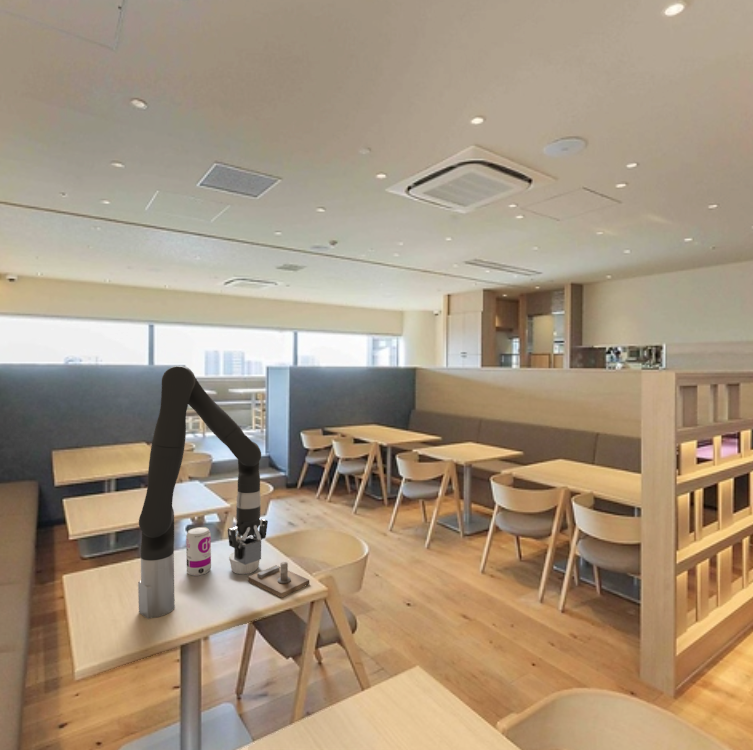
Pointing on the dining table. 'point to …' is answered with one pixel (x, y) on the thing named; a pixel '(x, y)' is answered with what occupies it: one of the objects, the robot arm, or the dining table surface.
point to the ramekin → (242, 566)
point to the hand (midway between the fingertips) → (247, 555)
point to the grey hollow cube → (250, 551)
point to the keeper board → (278, 580)
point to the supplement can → (198, 551)
